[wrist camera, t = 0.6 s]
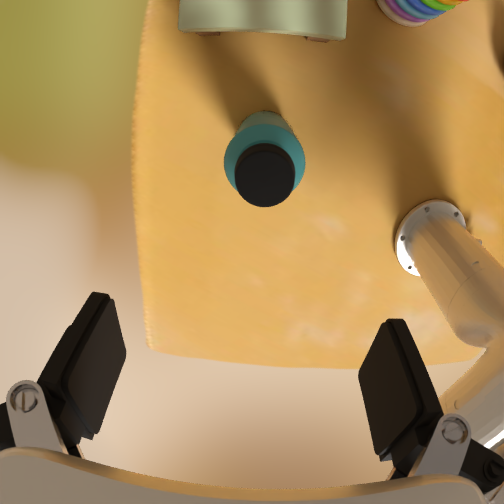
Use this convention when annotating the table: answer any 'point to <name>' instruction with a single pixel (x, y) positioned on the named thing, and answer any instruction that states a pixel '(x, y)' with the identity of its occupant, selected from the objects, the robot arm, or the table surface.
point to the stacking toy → (415, 10)
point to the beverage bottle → (264, 159)
